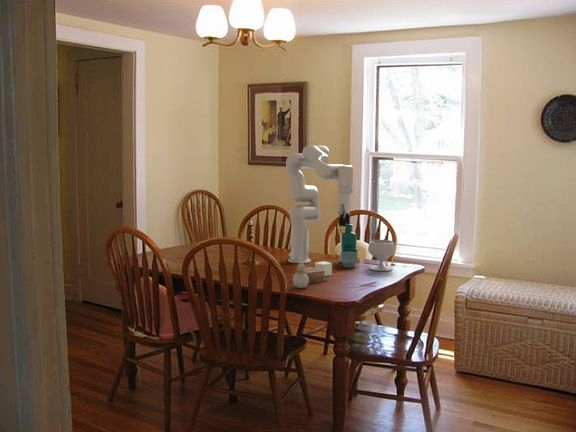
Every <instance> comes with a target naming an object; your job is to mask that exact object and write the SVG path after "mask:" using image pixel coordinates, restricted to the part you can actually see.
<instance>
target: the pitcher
mask: <svg viewBox="0 0 576 432" xmlns="http://www.w3.org/2000/svg"><path fill="white" fill-rule="evenodd" d="M353 226H355V224H354V223H350V224H346V225H345V226H344V227H345V230H343V231H342V230H341V226H339V225H338V229H339V231H340V232H339V233H340V248H339V249H340V253H339V254H340V256H339V258H340V259H339V261H340V264H342V261H341V250H342V249H356V250H358V248H357V247H358V246H357V245H358V244H357V243H358V241H357V240H358V236H357V233H356V232H355V231H354V230H353Z"/></svg>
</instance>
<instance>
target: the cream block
mask: <svg viewBox="0 0 576 432" xmlns="http://www.w3.org/2000/svg"><path fill="white" fill-rule="evenodd" d="M314 268H317V269H320V270H324V277H326V276H332V275H333V263H332V262H328V261H323V260H322V261H318V262H315V263H314Z"/></svg>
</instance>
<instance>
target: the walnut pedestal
mask: <svg viewBox="0 0 576 432" xmlns="http://www.w3.org/2000/svg"><path fill="white" fill-rule="evenodd" d="M294 270H295V273H294V275H295V274H296V273H297V271H298V268H295V269H294ZM304 273H305V274H306V275H307V276H308V278H309V282H308V285H309V284H316V283H323V282H328V278H326V277H325V276H324V270H320V269H317V268H315V267H313V266H311V267H305V270H304ZM291 278H292V279H293V276H292V277H291ZM292 279H291V280H292Z"/></svg>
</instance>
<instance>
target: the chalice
mask: <svg viewBox="0 0 576 432" xmlns="http://www.w3.org/2000/svg"><path fill="white" fill-rule="evenodd" d="M395 246H396V245H395V243H394V241H392V240H388V239H372V240H370V242H369V244H368V247H367V248H368V249H367V251H368V253H369V255H371V256H372V257H374V258H375V259H377V260H378V262H379V264H378V265H374V266H373V265H372V266H370V267H369V270H371V271H376V272H390V271H393V269H394V268H392V267H390V266H385V265H384V261H385V260H386V259H388V258H390V257H392V256H393V255H394V254H395V252H396V247H395Z"/></svg>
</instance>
